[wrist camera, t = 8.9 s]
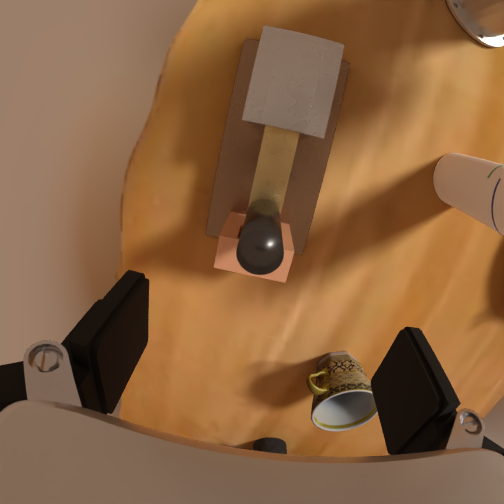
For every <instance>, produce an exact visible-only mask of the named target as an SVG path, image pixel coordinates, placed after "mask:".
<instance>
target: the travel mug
mask: <svg viewBox="0 0 504 504" xmlns="http://www.w3.org/2000/svg"><path fill="white" fill-rule="evenodd" d="M253 451H261V452H269V453H279V454H287V449H286V443H285V442H284V441H283V440H281V439H277V438H263V439H259V440H257V441H256V442H255V443H254V446H253Z"/></svg>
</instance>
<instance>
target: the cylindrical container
mask: <svg viewBox="0 0 504 504" xmlns="http://www.w3.org/2000/svg"><path fill="white" fill-rule="evenodd" d="M433 183H434V188H435V191H436V193H437V195H438V197H439V198H440V199H441V200H442V201H443V202H445V203H447V204H449V205H450V206H452V207H454V208H456V209H458V210H460V211H462V212H464V213H465V214H467V215H469V216H471V217H473V218H474V219H476V220H478V221H480V222H481V223H483V224H485V225H486V226H488V227H490V228H492V229H493V230H495V231H496V232H498V233H500V234H501V235H503V236H504V164H500V163H496V162H493V161H489V160H485V159H481V158H477V157H473V156H468V155H464V154H459V153H448V154H446V155H444V156H443V157H442V158H441V159H440V160H439V161H438V163H437V165H436V167H435V170H434V175H433Z"/></svg>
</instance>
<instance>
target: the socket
mask: <svg viewBox="0 0 504 504" xmlns="http://www.w3.org/2000/svg"><path fill="white" fill-rule="evenodd" d="M245 217H246V215H245V214H240V213H235V212H230V214H229V216H228V218H227V220H226V222H225V225H224V227H223V229H222V231H221V233H220V235H219V240H218V246H217V251H216V257H215V263H214V268H218V269H222V270H227V271H231V272H236V273H241V274H246V275H250V276H255V277H260V278H265V279H269V280H274V281H279V282H284V283H286V280H287V276H288V273H289V269H290V266H291V262H292V259H293V255H294V247H293V241H292V236H291V231H290V226H289V224H286V223H282V222H281V229H282V238H283V248H284V258H283V261H282V263H281V265H280V266H279V267H278V268H277V269H276V270H275V271H273V272H272V273H269V274H266V275H255V274H252V273H249V272H247V271H246V270H244V269H243V268H242V267H241V265H240V264H239V262H238V260H237V256H236V249H237V245H238V242H239V238H240V235H241V231H242V227H243V224H244V220H245Z"/></svg>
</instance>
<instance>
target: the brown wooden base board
mask: <svg viewBox="0 0 504 504" xmlns="http://www.w3.org/2000/svg"><path fill="white" fill-rule="evenodd" d="M343 50H344V44H341V43H338V42H334V41H331V40H327V39H324V38H320V37H316V36H313V35H309V34H304V33H300V32H296V31H291V30H287V29H282V28H277V27H271V26H265V25H264V26H263V30H262V34H261V38H260V41H258V40H252V39H245V41H244V45H243V49H242V53H241V57H240V61H239V65H238V70H237V74H236V78H235V83H234V87H233V92H232V96H231V101H230V105H229V110H228V115H227V120H226V124H225V129H224V134H223V139H222V144H221V149H220V155H219V160H218V165H217V170H216V176H215V181H214V187H213V193H212V198H211V204H210V210H209V216H208V222H207V228H206V234H205V235H209V236H214V237H219V235H220V233H221V231H222V229H223V227H224V225H225V222H226V220H227V218H228V216H229V214H230V212H235V213H240V214H245V215H246V213H247V209H248V204H249V200H250V195H251V190H252V186H253V181H254V176H255V172H256V167H257V162H258V158H259V153H260V149H261V144H262V139H263V135H264V130H265V126H266V125H269V126H274V127H279V128H283V129H287V130H291V131H296V132H300V134H299V139H298V143H297V147H296V152H295V156H294V160H293V164H292V168H291V173H290V177H289V181H288V185H287V189H286V193H285V198H284V202H283V206H282V210H281V214H280V220H281V222H282V223H286V224H289V226H290V231H291V236H292V241H293V247H294V254H298V255H302V253H303V250H304V247H305V243H306V240H307V236H308V233H309V229H310V226H311V222H312V218H313V215H314V211H315V207H316V204H317V200H318V196H319V193H320V189H321V185H322V181H323V177H324V173H325V170H326V166H327V162H328V158H329V154H330V150H331V146H332V141H333V137H334V133H335V129H336V125H337V120H338V116H339V112H340V107H341V103H342V98H343V94H344V89H345V84H346V80H347V75H348V70H349V65H350V63H348V62H345V61H342V55H343Z"/></svg>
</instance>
